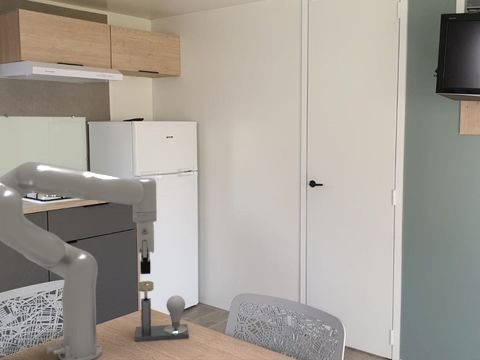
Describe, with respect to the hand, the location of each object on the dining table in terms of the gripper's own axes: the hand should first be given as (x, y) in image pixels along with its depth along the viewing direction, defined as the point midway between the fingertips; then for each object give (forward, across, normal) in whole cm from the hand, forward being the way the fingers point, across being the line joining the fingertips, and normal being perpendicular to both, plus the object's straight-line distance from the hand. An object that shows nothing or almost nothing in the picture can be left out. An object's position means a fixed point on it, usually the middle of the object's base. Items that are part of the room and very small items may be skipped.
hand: (145, 272), depth 172 cm
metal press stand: (+21, 0, -5) cm, 22 cm away
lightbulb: (+20, 0, -10) cm, 22 cm away
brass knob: (+10, 0, 0) cm, 10 cm away
